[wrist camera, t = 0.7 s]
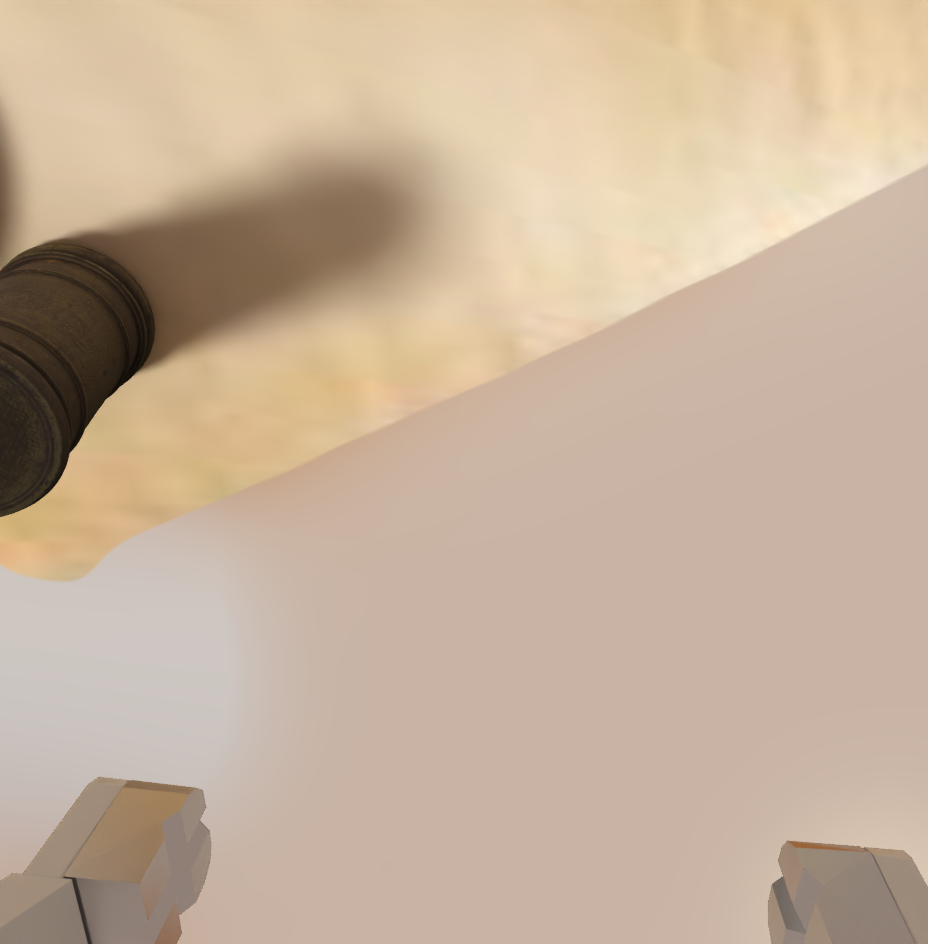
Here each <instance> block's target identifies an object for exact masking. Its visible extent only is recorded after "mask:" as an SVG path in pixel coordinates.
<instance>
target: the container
mask: <svg viewBox="0 0 928 944" xmlns="http://www.w3.org/2000/svg"><path fill="white" fill-rule="evenodd" d="M154 330H155V329H154V319H153V315H152V311H151V307H150V305H149V302H148V300H147V298H146V296H145V294H144V292H143V291H142V289H141V287H140V286H139V285H138V283H137V282H136V281H135V280H134V278H133V277H132V276H131V275H130V274H129V273H128V272H127V271H126V270H124V269H123V268H122V267H121V266H120V265H118V264H117V263H116V262H114V261H113V260H111V259H109V258H107V257H106V256H104V255H102V254H99V253H97V252H95V251H92V250H90V249H87V248H82V247H78V246H73V245H62V244H52V245H43V246H38V247H34V248H31V249H28V250H26V251H24V252H22V253H20V254H19V255H17V256H16V257H15V258H13V259H12V260H11V261H10V262H9V263H8V264H7V265H6V266H5V267H4V268H3V269H2V270H1V271H0V517H2V516H6V515H9V514H12V513H15V512H18V511H20V510H22V509H25V508H27V507H29V506H31V505H32V504H34V503H36V502H37V501H39V500H40V499H41V498H43V497H44V496H45V495H46V494H48V493H49V492H50V491H51V490H52V488H53V487H54V486H55V485H56V484H57V482H58V481H59V479H60V478H61V476H62V474H63V472H64V470H65V468H66V465H67V462H68V458H69V453H70V452H71V451H72V450H73V449H74V448H75V447H76V445H77V444H78V442H79V441H80V439H81V437H82V435H83V433H84V430H85V428H86V427H87V426H88V424H89V422H90V421H91V420H92V418H93V417H94V415H95V414H96V412H97V411H98V409H99V408H100V407H101V406H102V404H103V403H104V401H105V400H106V399H107V398H108V397H110V396H111V395H112V394H113V393H114V392H115V391H116V390H117V389H118V388H119V387H120V386H122V385H123V384H124V383H126V382H127V381H128V380H129V379H130V378H131V377H132V376H133V375H134V374H135V373H136V372H137V371H138V370H139V369H140V368H141V367H142V366H143V364H144V363H145V361H146V360H147V358H148V356H149V354H150V352H151V349H152V345H153V341H154Z"/></svg>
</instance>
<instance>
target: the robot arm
mask: <svg viewBox="0 0 928 944" xmlns="http://www.w3.org/2000/svg"><path fill="white" fill-rule="evenodd" d="M205 809H206V804H205V799H204V794H203V790H201V789H198V788H193V787H185V786H176V785H168V784H159V783H152V782H143V781H134V780H132V781H131V780H121V779H113V778H104V777H98V778H97V779H95V780H94V781H92V782H91V783H89V784H88V785H87V786H86V788H85V789H84V790H83V792H82V793H81V795H80V796H79V797H78V799H77V800H76V801H75V803H74V804H73V806H72V807H71V808H70V810H69V811H68V812H67V814H66V815H65V817H64V818H63V819H62V821H61V822H60V823H59V825H58V826H57V827H56V829H55V830H54V832H53V833H52V834H51V836H50V837H49V838H48V840H47V841H46V843H45V844H44V845H43V847H42V848H41V849H40V851H39V852H38V854H37V855H36V856H35V858H34V859H33V860H32V862H31V863H30V865H29V866H28V867H27V869H26V870H25V871H24V873H23V874H16V873H12V874H10V875H9V876H7V877H5V878H4V879H2V880H1V881H0V944H177V942H178V940H179V938H180V936H181V934H182V931H181V925H180V919H179V915H180V914H182V913H183V912H184V911H185V910H186V909H188V908H189V907H191V906H192V905H193V904H194V903H196V901H197V899H198V897H199V894H200V892H201V890H202V888H203V885H204V883H205V879H206V875H207V871H208V867H209V864H210V857H211V837H210V831H209V829H208V828H207V827H206V826H205V825H204V824H203V823H202V822H201V821H200V819H201V817H202V815H203V813H204V811H205ZM778 862H779V865H780V868H781V871H782V874H783V877H781V878H780V879H779V880H777V881H776V882H774V883H773V884H772V886H771V891H770V897H769V900H768V925H769V931H770V936H771V943H772V944H928V886H927V885H926V883H925V881H924V879H923V877H922V876H921V874H920V872H919V870H918V868H917V867H916V865H915V863H914V861H913V859H912V858H911V857H910V856H909V855H908V854H907V853H906V852H905V851H903V850H891V849H879V848H867V847H864V848H861V847H860V846H848V845H835V844H822V843H810V842H797V841H786V843H785V844H784V845H783V846H782V848H781V852H780V855H779V859H778Z"/></svg>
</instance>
